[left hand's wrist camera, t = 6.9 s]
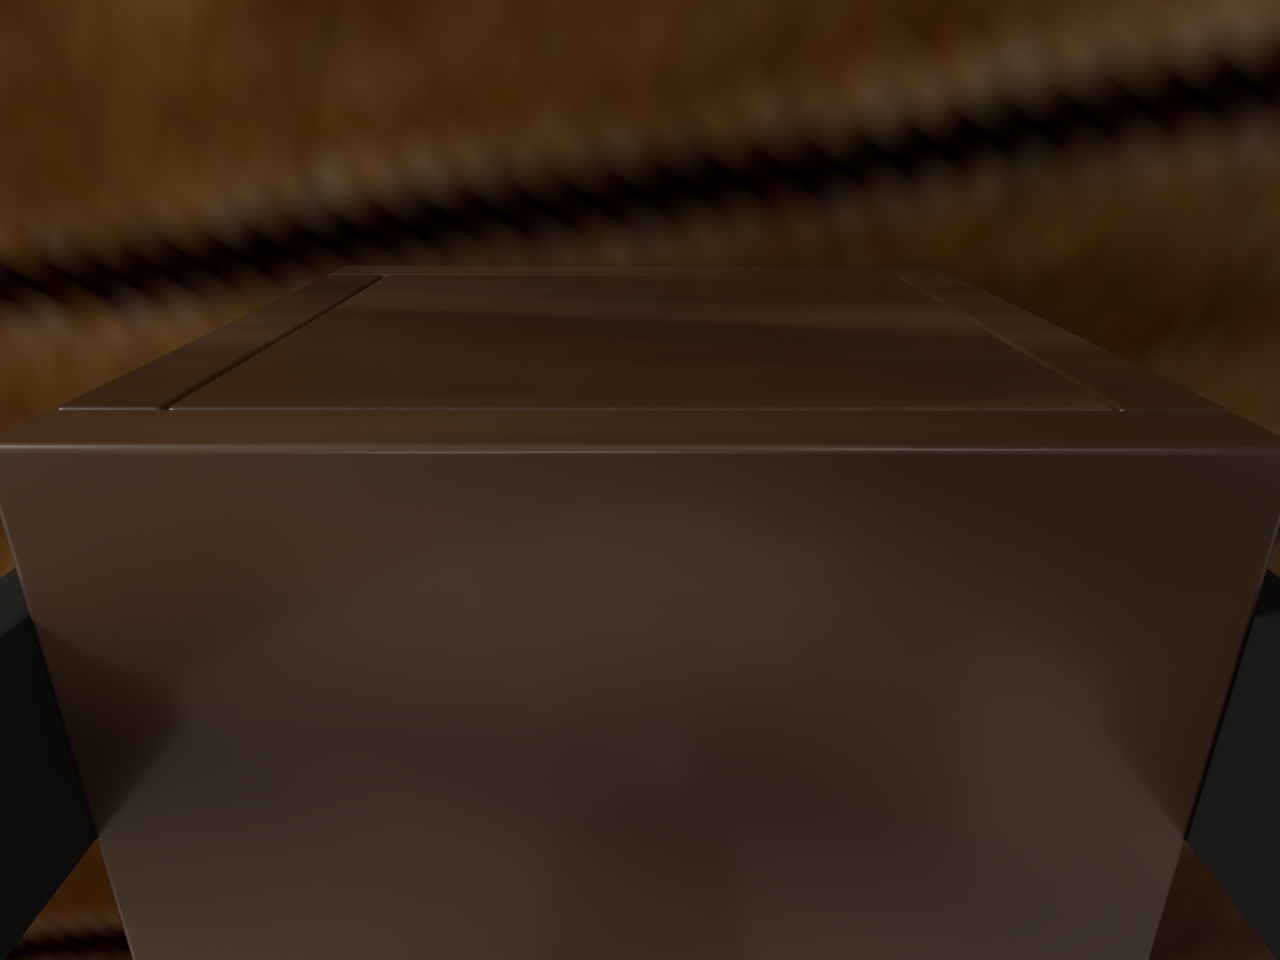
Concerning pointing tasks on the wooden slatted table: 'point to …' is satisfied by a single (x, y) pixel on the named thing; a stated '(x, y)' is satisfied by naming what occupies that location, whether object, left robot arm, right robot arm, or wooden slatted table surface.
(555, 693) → the cabinet
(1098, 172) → the wooden slatted table surface
